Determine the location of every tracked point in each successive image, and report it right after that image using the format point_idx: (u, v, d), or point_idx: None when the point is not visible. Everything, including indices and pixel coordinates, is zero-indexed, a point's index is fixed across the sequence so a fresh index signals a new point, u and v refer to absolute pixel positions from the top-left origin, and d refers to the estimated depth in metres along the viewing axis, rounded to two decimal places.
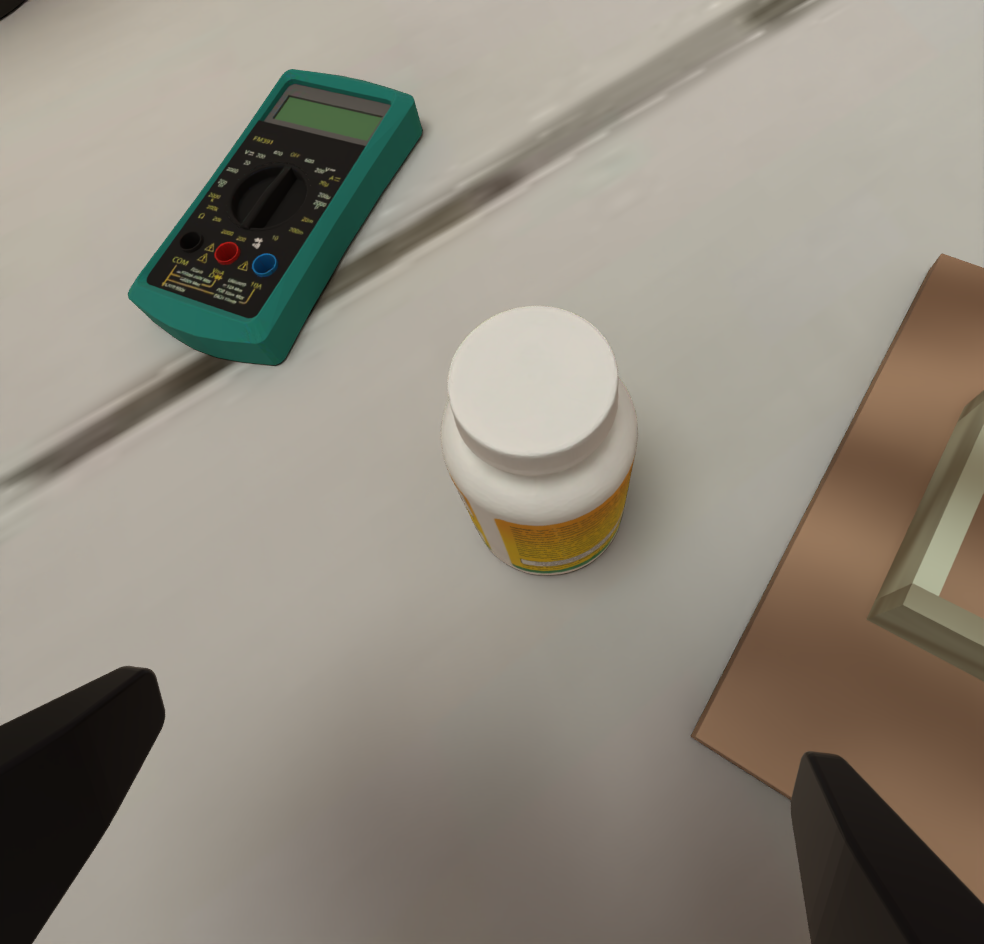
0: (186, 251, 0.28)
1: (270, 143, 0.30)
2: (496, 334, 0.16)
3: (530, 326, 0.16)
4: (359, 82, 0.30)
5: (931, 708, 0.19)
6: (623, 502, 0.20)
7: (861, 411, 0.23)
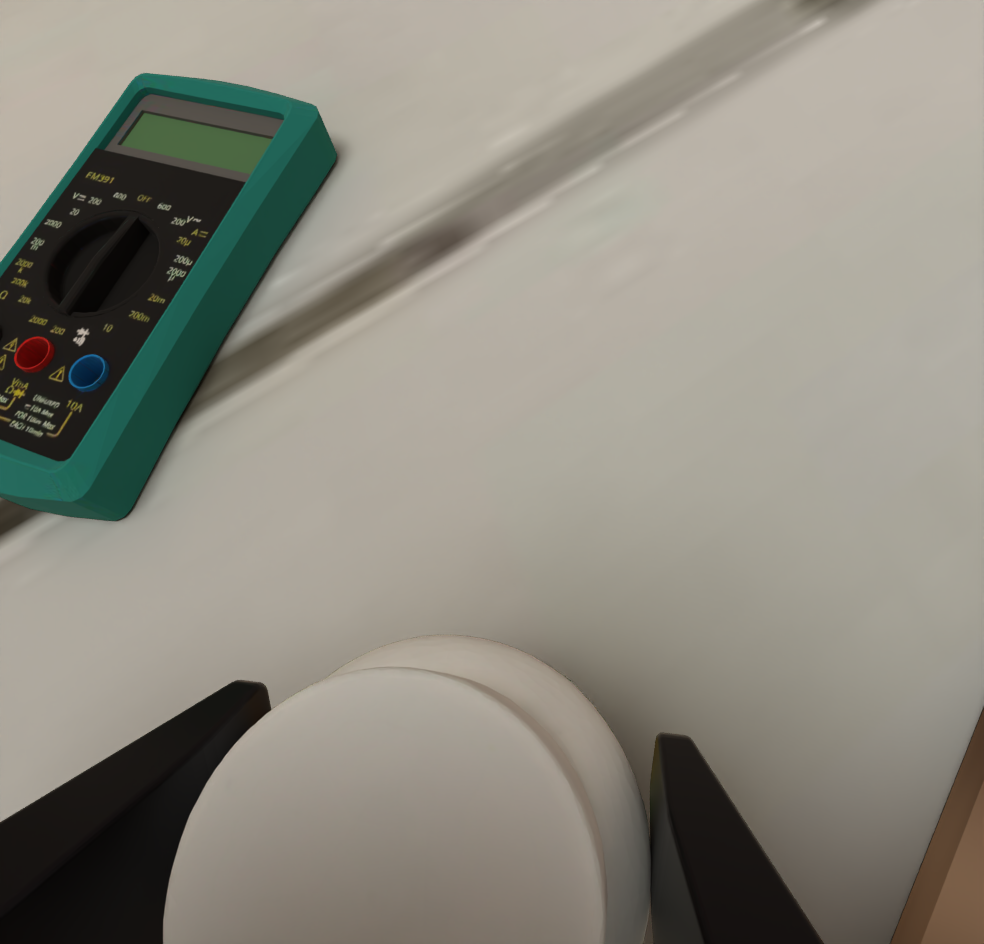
0: None
1: (109, 181, 0.20)
2: (300, 752, 0.06)
3: (385, 734, 0.06)
4: (238, 89, 0.21)
5: None
6: None
7: None
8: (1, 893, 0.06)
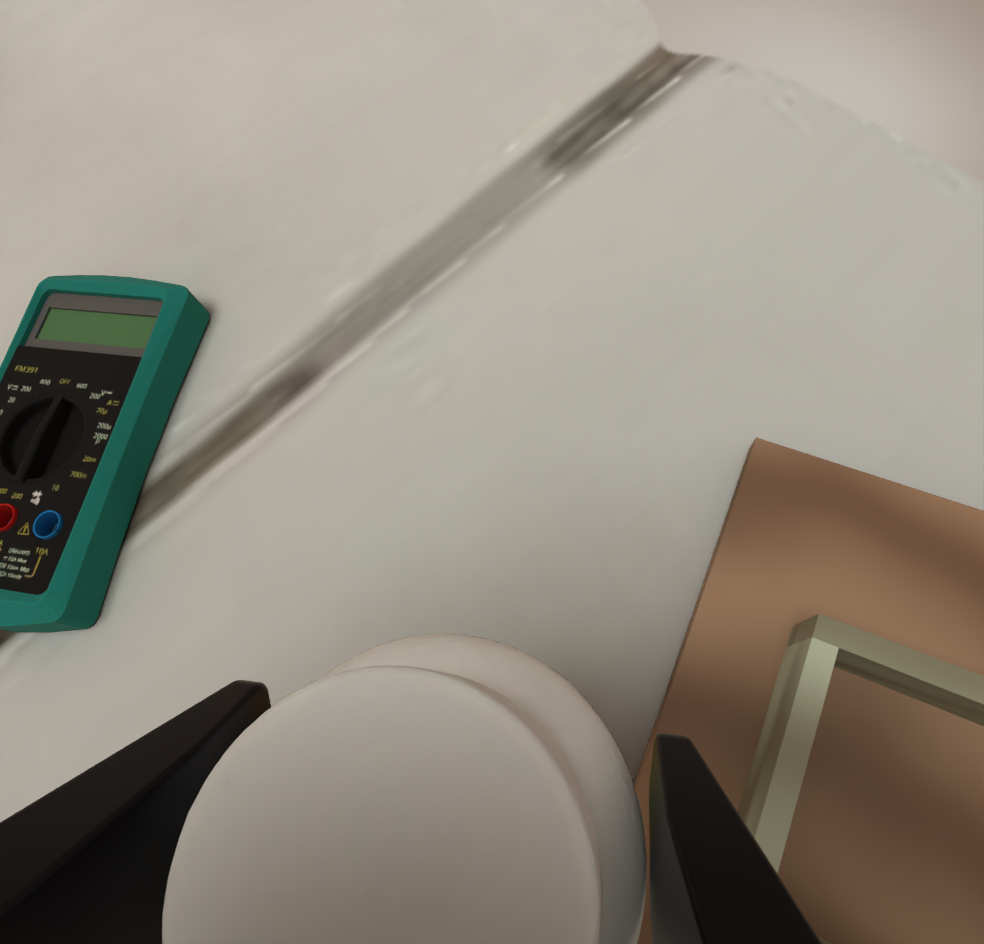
0: None
1: (34, 371, 0.27)
2: (299, 750, 0.06)
3: (383, 732, 0.06)
4: (123, 284, 0.27)
5: None
6: None
7: (686, 642, 0.21)
8: (1, 893, 0.06)
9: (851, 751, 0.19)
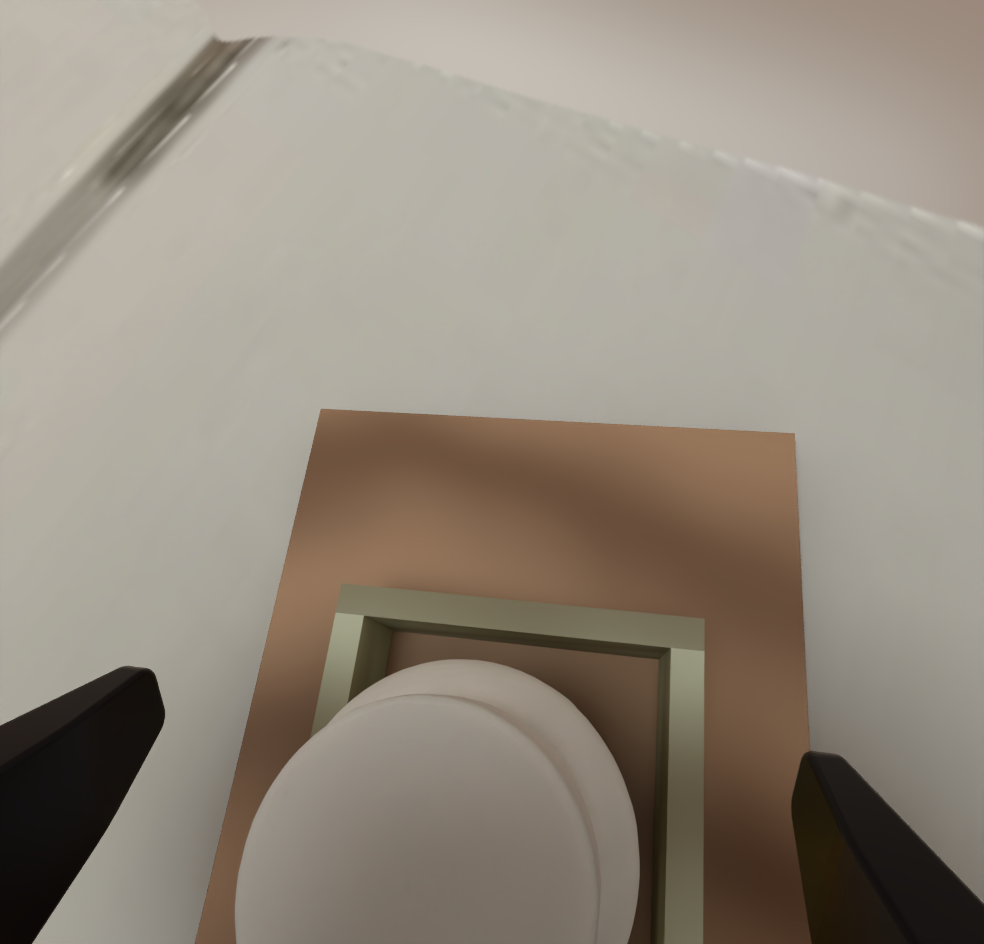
0: None
1: None
2: (345, 766, 0.07)
3: (416, 751, 0.07)
4: None
5: None
6: None
7: (264, 655, 0.18)
8: None
9: None
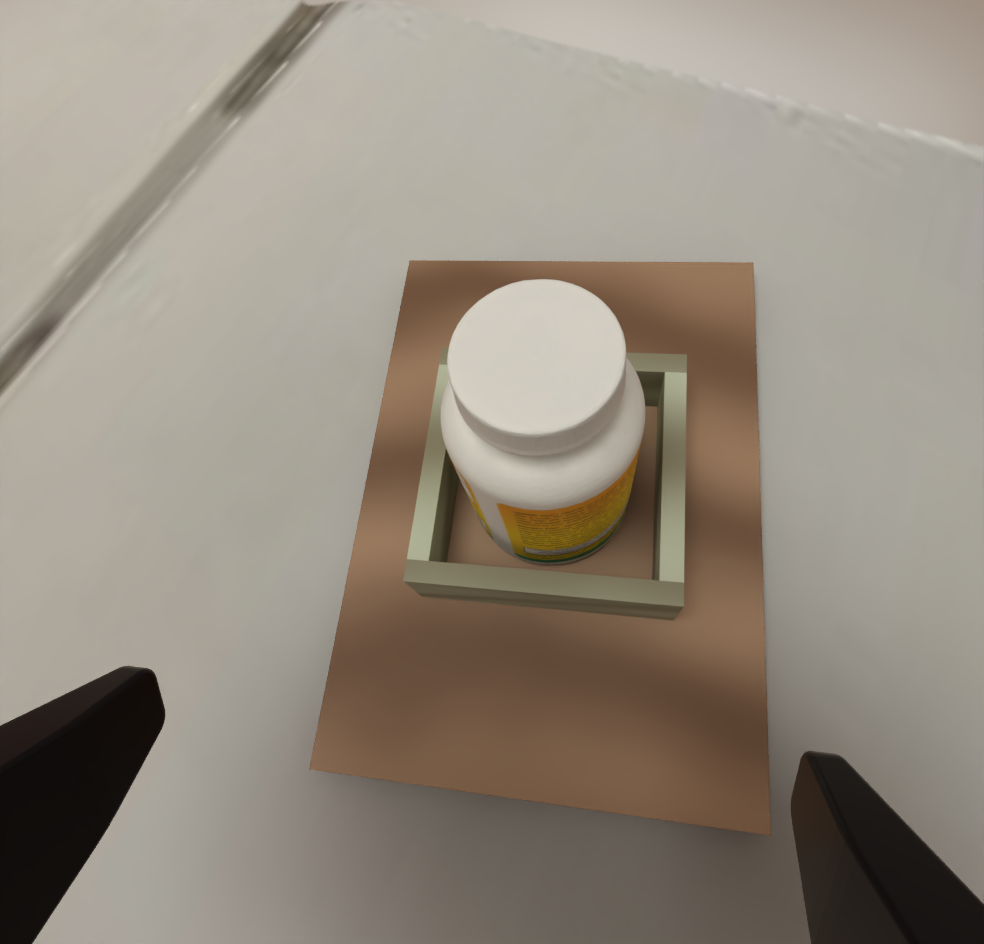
0: None
1: None
2: (498, 308, 0.15)
3: (533, 300, 0.15)
4: None
5: (487, 648, 0.22)
6: (630, 487, 0.19)
7: (379, 419, 0.25)
8: None
9: None
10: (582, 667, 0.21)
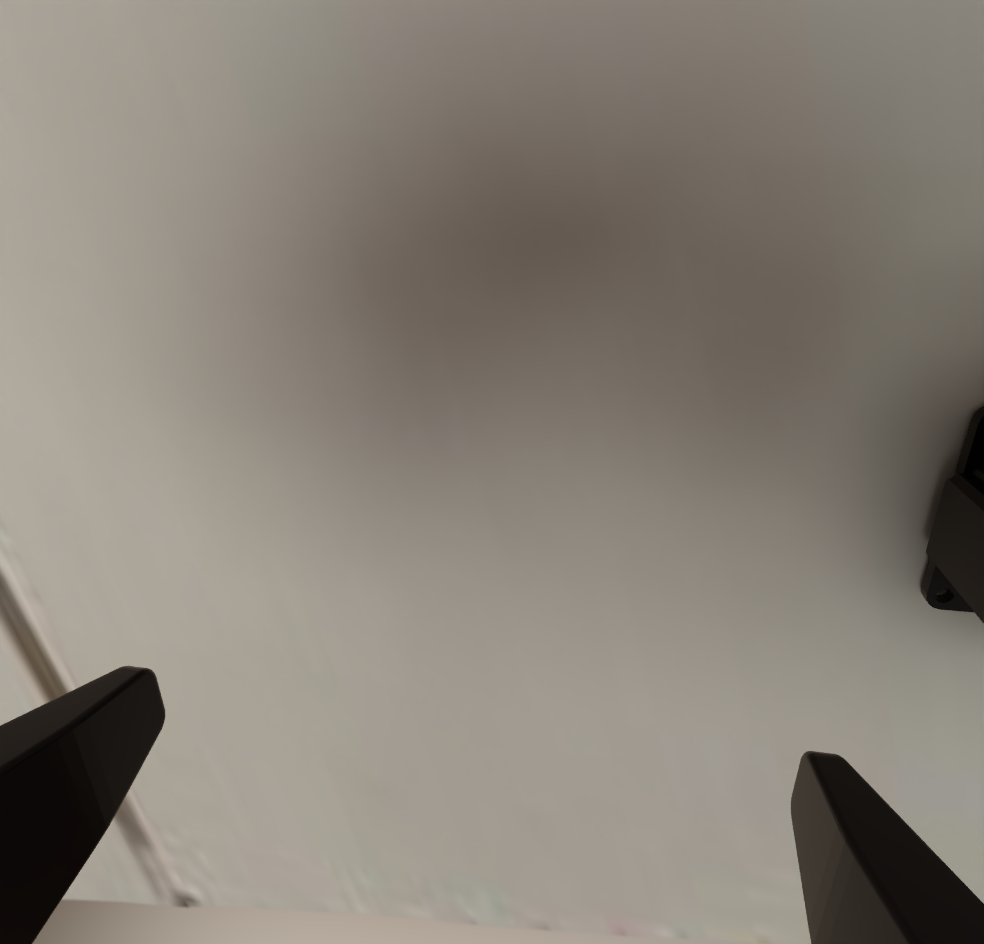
0: None
1: None
2: None
3: None
4: None
5: None
6: None
7: None
8: None
9: None
10: None
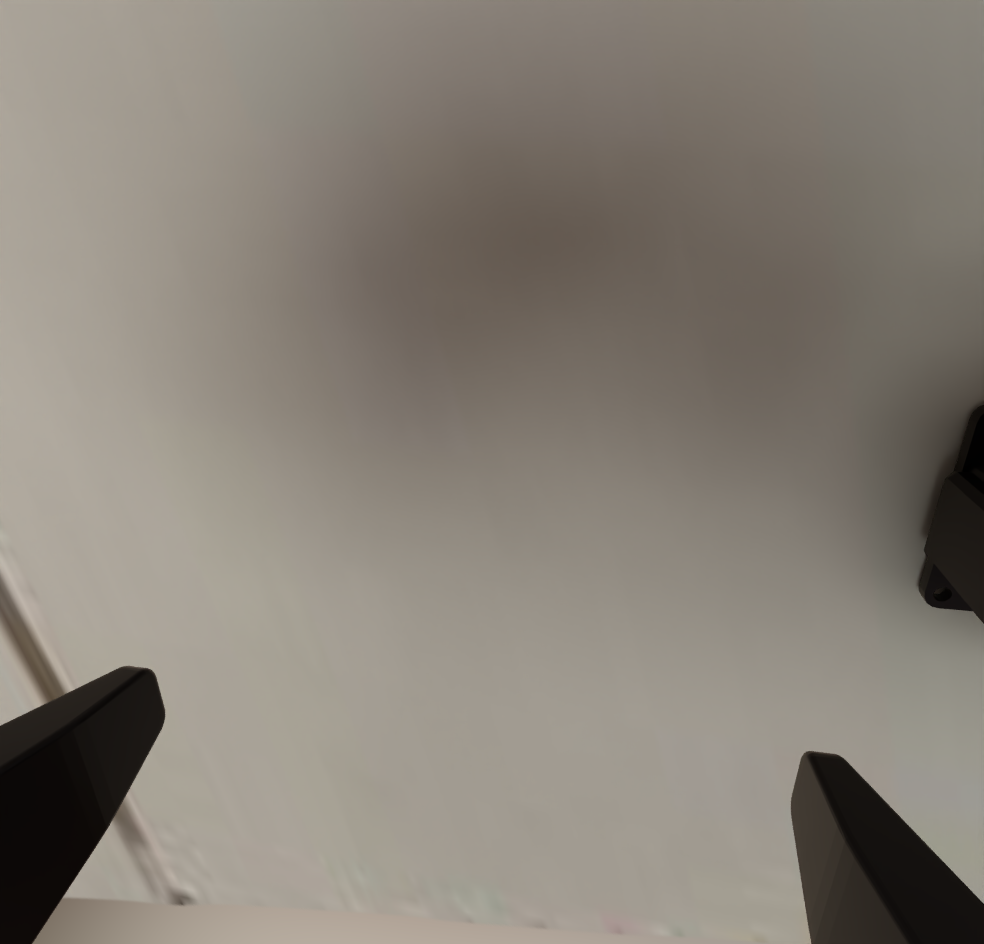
0: None
1: None
2: None
3: None
4: None
5: None
6: None
7: None
8: None
9: None
10: None
